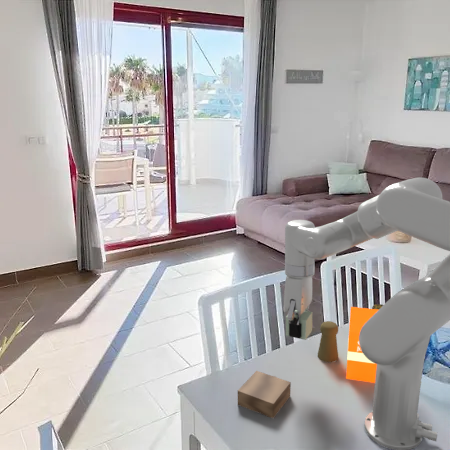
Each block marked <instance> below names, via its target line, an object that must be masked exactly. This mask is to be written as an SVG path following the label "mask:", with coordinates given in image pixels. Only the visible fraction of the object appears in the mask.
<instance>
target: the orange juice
mask: <svg viewBox="0 0 450 450" xmlns="http://www.w3.org/2000/svg"><path fill="white" fill-rule="evenodd" d="M377 311H378V310H377V309H372V308H369V307H368V308H367V307H359V306H358V307H357V306H350V313H349V314H350V315H349V327H348V337H347V338H348V339H347V353H346V354H347V356H346V357H347V359H346V360H347V361H346V375H345V379H346V380H351V381H352V380H353V381H360V382H366V383H371V384H375V377H376V366H377V364H375V363H373V362H371V361H370V360H369V359H367V358H366V357H365V355H364V354H363V352H362V351H361V348H360V344H359V334H360V331H361V329H362V327H363V325H364V324H365V323H366V322H367V321H368V320H369V319H370V318H371V317H372V316H373V315H374V314H375V313H376V312H377Z"/></svg>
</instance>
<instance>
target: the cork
mask: <svg viewBox="0 0 450 450" xmlns="http://www.w3.org/2000/svg"><path fill="white" fill-rule="evenodd" d="M319 328H320V329H319V330H320V333H321V336H320V341H319V347H318V352H317V358H318V360H320V361H322V362H324V363H334V362H336V361H338V360H339V352H338V350H339V349H338V343H337V334H338V333H339V326H338V325H337V323H335V322H334V321H331V320H330V321H329V320H328V321H327V320H325V321H323V322H322V323H321V325H320V327H319Z"/></svg>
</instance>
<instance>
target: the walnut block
mask: <svg viewBox="0 0 450 450" xmlns="http://www.w3.org/2000/svg"><path fill="white" fill-rule="evenodd" d="M291 385H292V384H291V381H288V380H286V379H282V378H280V377H277V376H274V375H270V374H267V373H265V372H261V371H258V370H256V371H254V373H253V374H251V376H250V377H249V378H248V379H247V380H246V381H245V383H243V384H242V385H241V386H240V387H239V388H238V390H237V405H238V406H239V407H243V408H244V409H245V408H246V409H247V410H250V411H252V412H255V413H258V414H261V415H263V416H265V417H268V418H270V419H274V418H275V417H276V416H277V414H278V413H279V412H280V410H281V409H282V408H283V407H284V406H285V404H286V403H287V401H288V399H290V397H291V389H292V388H291Z"/></svg>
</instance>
